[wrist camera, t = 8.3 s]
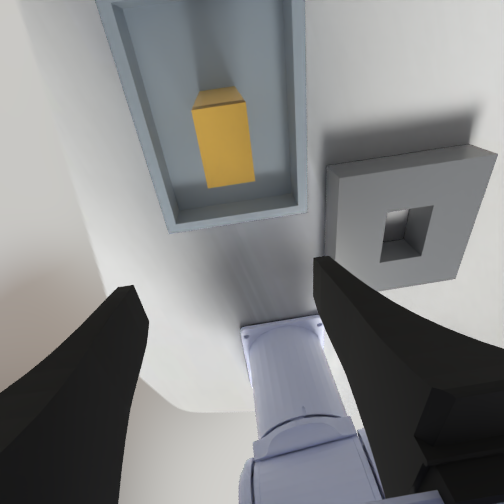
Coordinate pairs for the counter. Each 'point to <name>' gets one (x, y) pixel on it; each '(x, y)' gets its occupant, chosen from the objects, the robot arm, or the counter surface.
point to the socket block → (419, 219)
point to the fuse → (223, 136)
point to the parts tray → (206, 78)
